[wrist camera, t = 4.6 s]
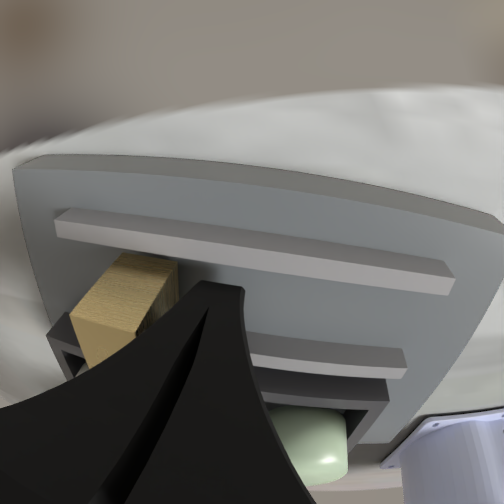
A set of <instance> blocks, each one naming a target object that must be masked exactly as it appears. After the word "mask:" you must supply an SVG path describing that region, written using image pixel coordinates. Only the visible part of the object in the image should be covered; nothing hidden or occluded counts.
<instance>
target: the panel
mask: <svg viewBox="0 0 504 504" xmlns="http://www.w3.org/2000/svg"><path fill="white" fill-rule="evenodd" d="M12 172H13V179H14V186H15V192H16V198H17V204H18V209H19V214H20V219H21V224H22V229H23V233H24V237H25V241H26V245H27V249H28V253H29V257H30V261H31V264H32V268H33V271H34V275H35V278H36V281H37V284H38V287H39V291H40V294H41V297H42V300H43V302H44V305H45V308H46V311H47V314H48V316H49V319H50V322H51V324H52V328H51V329H50V331H49V332H48V333H47V335H46V337H47V339H48V341H49V344H50V346H51V348H52V350H53V353H54V355H55V357H56V359H57V361H58V363H59V365H60V367H61V369H62V371H63V373H64V375H65V377H66V379H67V381H69V380H71V379H73V378H75V377H76V375H77V373H78V372H79V370H80V369H81V367H82V365H83V364H84V363H86V360H85V357H84V355H83V352H82V349H81V347H80V344H79V341H78V339H77V336H76V333H75V330H74V328H73V325H72V322H71V319H70V316H69V314H70V313H71V312H72V311H73V309H74V308H75V307H76V306H77V304H78V303H79V302H80V301H81V300H82V298H83V297H84V296H85V295H86V294H87V292H88V291H89V290H90V289H91V288H92V286H93V285H94V284H95V283H96V282H97V281H98V279H99V278H100V277H101V276H102V275H103V274H104V273H105V271H106V270H107V269H108V268H109V267H110V266H111V265H112V263H113V262H114V261H115V260H116V259H117V258H118V257H119V256H120V255H121V253H122V252H124V253H130V254H135V255H141V256H147V257H153V258H159V259H165V260H171V261H177V262H178V286H179V300H180V299H181V298H182V297H183V296H184V295H185V294H186V293H187V292H188V291H189V290H190V289H191V288H192V287H193V286H194V285H195V284H197V283H198V282H199V281H200V280H205V281H211V282H217V283H223V284H230V285H236V286H242V287H243V288H244V289H245V300H244V322H245V329H246V335H247V341H248V347H249V351H250V356H251V360H252V363H253V367H254V371H255V375H256V378H257V381H258V385H259V388H260V391H261V394H262V396H263V399H264V402H265V405H266V407H267V410H268V411H270V410H272V409H275V408H278V407H282V406H287V405H298V406H309V407H321V408H331V409H334V410H336V411H338V412H339V413H340V414H342V415H343V417H344V418H345V421H346V436H347V455H348V454H349V452H350V451H351V450H352V449H353V448H354V447H355V445H356V444H378V443H390V442H391V440H392V439H393V438H394V437H395V436H396V435H397V434H398V433H399V432H400V431H401V430H402V429H403V427H404V426H405V425H406V424H407V423H408V422H409V421H410V420H411V418H412V417H413V416H414V415H415V414H416V413H417V411H418V410H419V409H420V408H421V407H422V405H423V404H424V403H425V402H426V400H427V399H428V398H429V397H430V395H431V394H432V393H433V391H434V390H435V389H436V388H437V386H438V385H439V384H440V382H441V381H442V380H443V378H444V377H445V375H446V374H447V373H448V371H449V370H450V368H451V367H452V366H453V364H454V363H455V361H456V360H457V358H458V357H459V355H460V354H461V352H462V351H463V349H464V348H465V346H466V345H467V343H468V341H469V340H470V338H471V337H472V335H473V333H474V332H475V330H476V328H477V327H478V325H479V323H480V322H481V320H482V318H483V316H484V315H485V313H486V311H487V309H488V307H489V306H490V304H491V302H492V300H493V298H494V296H495V294H496V292H497V290H498V288H499V286H500V284H501V282H502V280H503V278H504V224H503V223H501V222H500V221H499V220H498V219H497V218H496V217H494V216H493V215H489V214H486V213H483V212H479V211H476V210H472V209H469V208H465V207H461V206H458V205H454V204H450V203H447V202H443V201H439V200H435V199H431V198H427V197H423V196H418V195H414V194H410V193H406V192H401V191H397V190H392V189H387V188H383V187H378V186H373V185H368V184H363V183H358V182H353V181H347V180H342V179H336V178H331V177H325V176H319V175H313V174H306V173H300V172H293V171H287V170H280V169H272V168H265V167H257V166H249V165H240V164H231V163H222V162H212V161H201V160H190V159H177V158H162V157H145V156H122V155H43V156H41V157H39V158H36V159H34V160H32V161H29V162H27V163H25V164H23V165H21V166H18V167H16V168H14V169H12Z"/></svg>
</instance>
